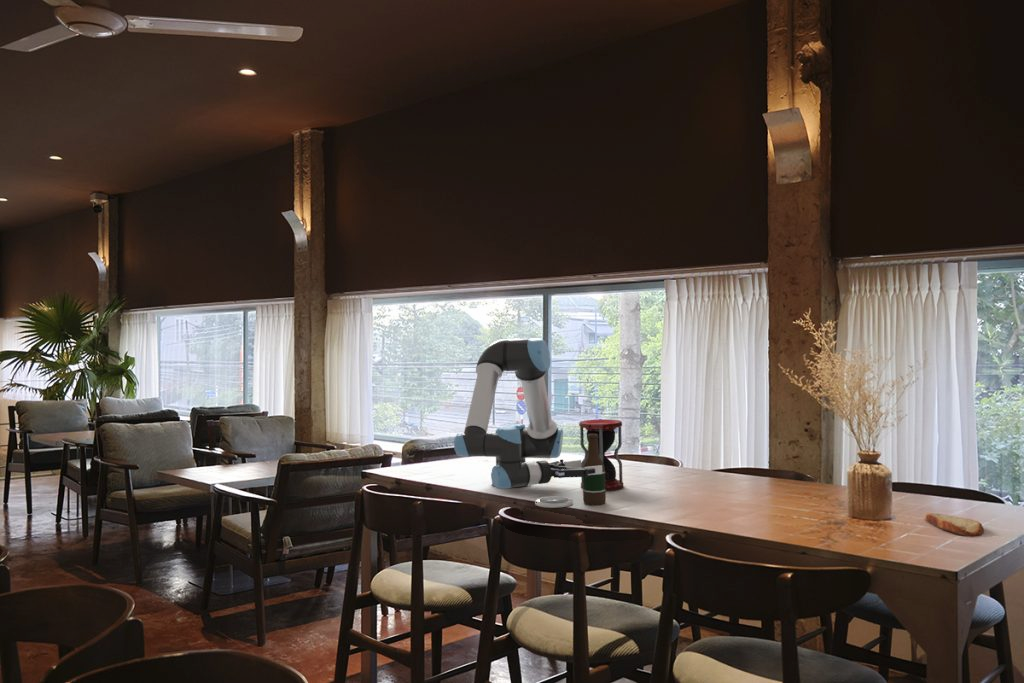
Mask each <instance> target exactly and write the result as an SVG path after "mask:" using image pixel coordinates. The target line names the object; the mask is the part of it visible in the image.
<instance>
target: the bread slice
mask: <svg viewBox="0 0 1024 683" xmlns="http://www.w3.org/2000/svg"><path fill="white" fill-rule="evenodd" d="M924 517H925V518H924V521H925V522H927V523H928V524H929V525H931V526H933V527H935V528H938V529H940V530H942V531H945V532H947V533H951V534H954V535H958V536H961V537H962V536H963V537H969V538H970V537H971V538H973V537H982V535H983V533H984V532H985V529H984V526H983V525H982V523H981V522H979V521H978V520H974V519H970V518H967V517H966V518H964V517H961V516H955V515H948V514H943V513H934V512H927V513H926V514H925V516H924Z"/></svg>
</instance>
